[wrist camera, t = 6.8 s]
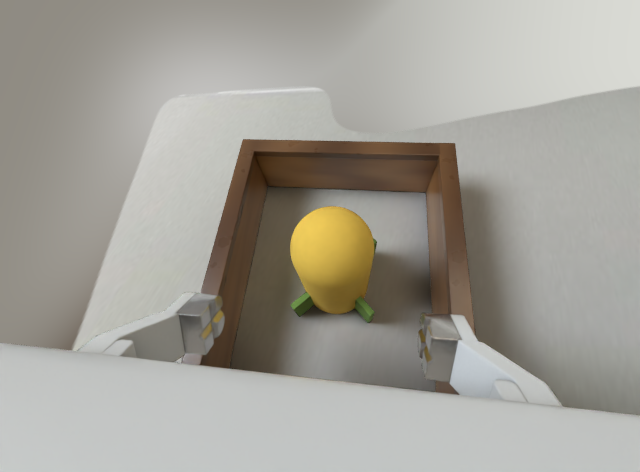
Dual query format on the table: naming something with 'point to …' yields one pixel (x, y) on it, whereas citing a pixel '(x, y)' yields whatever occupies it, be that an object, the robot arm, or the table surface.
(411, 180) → the wooden box
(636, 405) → the table surface
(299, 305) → the corn plush toy
